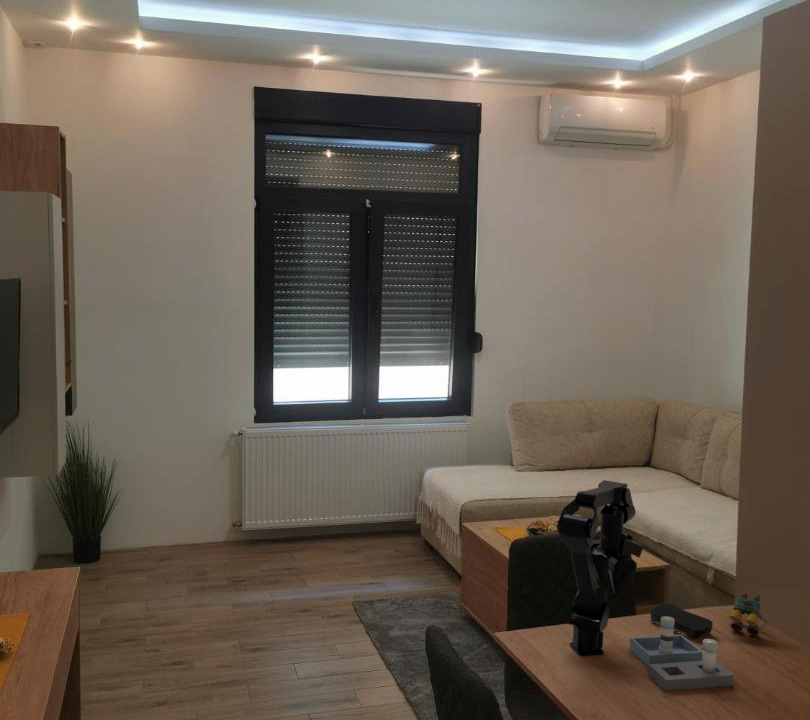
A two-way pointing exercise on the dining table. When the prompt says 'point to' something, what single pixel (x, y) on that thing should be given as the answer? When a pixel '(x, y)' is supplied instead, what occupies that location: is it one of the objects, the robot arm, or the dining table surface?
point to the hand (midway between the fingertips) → (608, 587)
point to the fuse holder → (689, 675)
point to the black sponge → (682, 621)
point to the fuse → (709, 655)
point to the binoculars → (752, 611)
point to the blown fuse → (666, 635)
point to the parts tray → (650, 654)
